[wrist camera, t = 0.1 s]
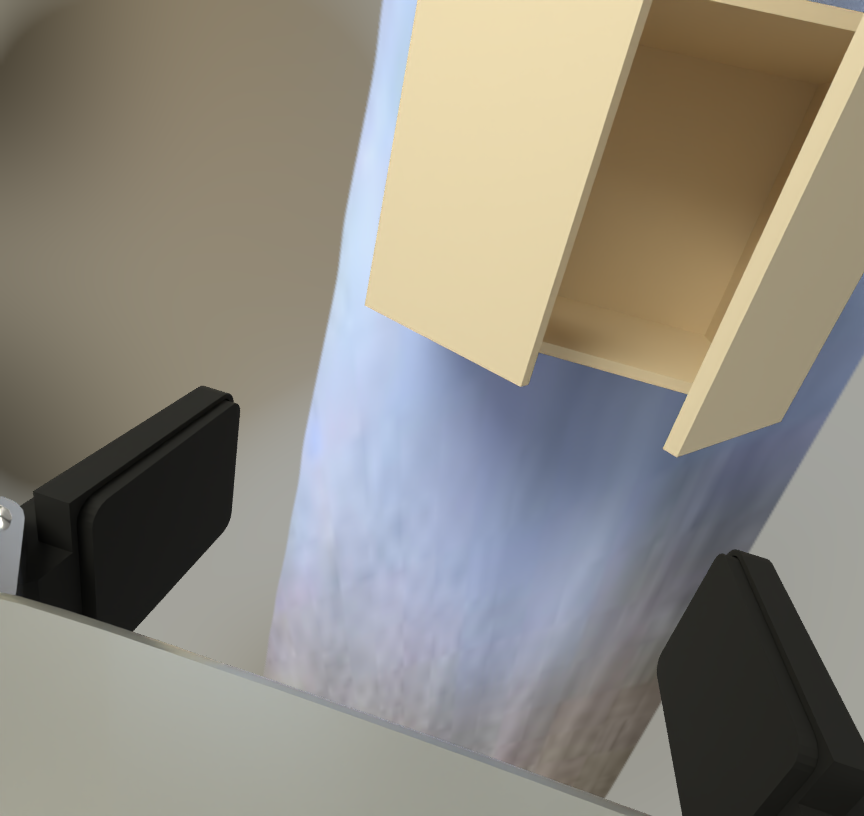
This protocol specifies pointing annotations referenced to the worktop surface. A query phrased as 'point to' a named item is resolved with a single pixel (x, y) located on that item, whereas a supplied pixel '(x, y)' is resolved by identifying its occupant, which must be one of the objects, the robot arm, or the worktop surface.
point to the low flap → (496, 167)
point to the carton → (691, 179)
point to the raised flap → (788, 279)
